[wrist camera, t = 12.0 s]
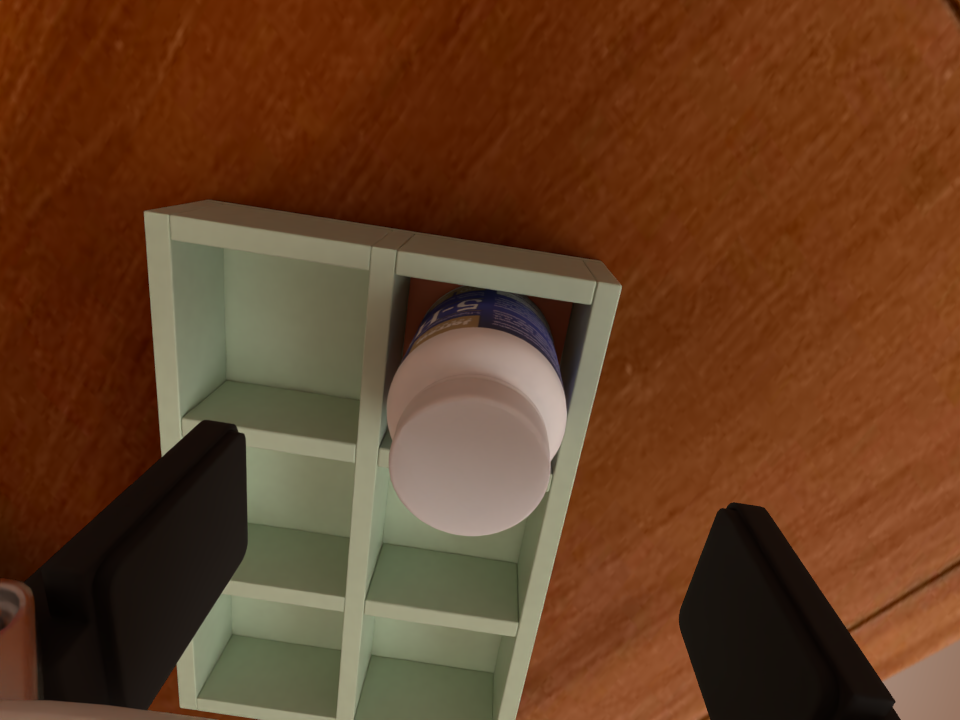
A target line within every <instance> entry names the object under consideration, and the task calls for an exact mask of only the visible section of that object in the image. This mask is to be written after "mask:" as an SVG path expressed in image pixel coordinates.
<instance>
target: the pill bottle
mask: <svg viewBox="0 0 960 720" xmlns="http://www.w3.org/2000/svg"><path fill="white" fill-rule="evenodd" d="M566 421H567V408H566V397H565V392H564V387H563V382H562V378H561V373H560V368H559V364H558V359H557V354H556V350H555V346H554V340H553V337H552V333H551V330H550V327H549V325H548V322H547V320H546V318H545V317H544V315H543V313H542V312H541V311H540V309H539V308H538V307H537V306H536V305H535V303H534V302H533V301H532V300H530V299H529V298H528V297H527V296H525V295H522V294H516V293H509V292H503V291H496V290H490V289H483V288H477V287H471V286H464V285H463V286H461V287H458V288H456V289H453V290H451V291H450V292H448V293H446V294H445V295H443V296H442V297H441V298H439V299H438V300H437V301H436V302H435V303H434V304H433V305H432V306H431V308H430V309H429V310H428V311H427V313H426V315H425V316H424V318H423V320H422V322H421V324H420V326H419V328H418V330H417V332H416V334H415V336H414V338H413V340H412V342H411V344H410V346H409V348H408V350H407V352H406V354H405V356H404V358H403V360H402V362H401V364H400V365H399V367H398V369H397V371H396V373H395V376H394V378H393V381H392V383H391V386H390V390H389V394H388V399H387V423H388V428H389V432H390V436H391V439H392V443H391V447H390V452H389V473H390V478H391V482H392V485H393V487H394V490H395V492H396V494H397V496H398V497H399V499H400V500H401V502H402V503H403V504H404V506H405V507H406V508H407V509H408V510H409V511H410V512H411V513H412V514H413V515H415V516H416V517H417V518H418V519H420V520H421V521H422V522H424V523H426V524H427V525H430V526H431V527H433V528H435V529H438V530H441V531H444V532H447V533H450V534H455V535H462V536H482V535H490V534H494V533H498V532H501V531H503V530H506V529H508V528H511V527H513V526H515V525H516V524H518V523H519V522H521V521H522V520H523V519H525V518H526V517H527V516H529V515H530V514H531V513H532V512H533V511H534V510H535V508H536V507H537V506H538V504H539V503H540V502H541V500H542V498H543V496H544V494H545V492H546V490H547V487H548V483H549V479H550V470H551V463H550V462H551V460H552V459H553V457H554V456H555V454H556V452H557V451H558V449H559V447H560V445H561V442H562V439H563V436H564V433H565V428H566Z"/></svg>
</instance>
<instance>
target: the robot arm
mask: <svg viewBox="0 0 960 720" xmlns="http://www.w3.org/2000/svg"><path fill="white" fill-rule="evenodd" d="M247 545H248V518H247V467H246V437H245V434H244V433H240V432H238V429H237V426H236V425H235V424H231V423H225V422H218V421H212V420H203V421H201V422H200V423H199V424H198V425H196V426H195V427H194V428H193V429H192V430H191V431H190V432H189V433H188V434H187V435H185V436H184V437H183V438H182V439H181V440H180V441H179V442H178V443H177V444H176V445H175V446H173V447H172V448H171V449H170V450H169V451H168V452H167V453H166V454H165V455H164V456H162V457H161V458H160V459H159V460H158V461H157V462H156V463H155V464H154V465H153V466H152V467H150V468H149V469H148V470H147V471H146V472H145V473H144V474H143V475H142V476H141V477H139V478H138V479H137V480H136V481H135V482H134V483H133V484H132V485H130V486H129V487H128V488H127V489H126V490H125V491H124V492H122V493H121V494H120V495H119V496H118V497H117V498H116V499H115V500H114V501H113V502H111V503H110V504H109V505H108V506H107V507H106V508H105V509H104V510H103V511H102V512H100V513H99V514H98V515H97V516H96V517H95V518H94V519H93V520H92V521H91V522H90V523H88V524H87V525H86V526H85V527H84V528H83V529H82V530H81V531H80V532H79V533H77V534H76V535H75V536H74V537H73V538H72V539H71V540H70V541H69V542H68V543H66V544H65V545H64V546H63V547H62V548H61V549H60V550H59V551H58V552H57V553H55V554H54V555H53V556H52V557H51V558H50V559H49V560H48V561H47V562H46V563H45V564H43V565H42V566H41V567H40V568H39V569H38V570H37V571H36V572H35V573H34V574H32V575H31V576H30V577H29V578H28V579H27V580H26V581H25V582H24V583H23V582H21V581H17V580H12V579H8V578H0V720H216V719H209V718H201V717H194V716H186V715H178V714H171V713H163V712H155V711H148V710H147V709H148V708H149V706H150V705H151V703H152V701H153V700H154V698H155V697H156V695H157V694H158V692H159V690H160V689H161V687H162V686H163V684H164V683H165V681H166V680H167V678H168V676H169V675H170V673H171V672H172V670H173V669H174V667H175V665H176V664H177V662H178V661H179V659H180V658H181V656H182V654H183V653H184V651H185V650H186V648H187V647H188V645H189V644H190V642H191V640H192V639H193V637H194V636H195V634H196V633H197V631H198V629H199V628H200V626H201V625H202V623H203V622H204V620H205V618H206V617H207V615H208V614H209V612H210V611H211V609H212V608H213V606H214V604H215V603H216V601H217V600H218V598H219V597H220V595H221V593H222V592H223V590H224V589H225V587H226V586H227V584H228V583H229V581H230V579H231V578H232V576H233V575H234V573H235V572H236V570H237V568H238V567H239V565H240V564H241V562H242V560H243V558H244V556H245V553H246V550H247ZM679 625H680V630H681V633H682V636H683V639H684V642H685V645H686V648H687V651H688V654H689V657H690V660H691V663H692V666H693V669H694V672H695V675H696V678H697V681H698V684H699V687H700V690H701V693H702V696H703V699H704V702H705V705H706V708H707V711H708V714H709V717H710V720H901V719H900V718H899V717H898V715H897V713H896V712H895V710H894V709H893V707H892V706H893V705H894V703H895V700H894V699H893V698H892V696H891V694H890V693H889V691H888V690H887V688H886V687H885V685H884V684H883V682H882V681H881V679H880V678H879V676H878V675H877V673H876V672H875V670H874V669H873V667H872V666H871V664H870V663H869V661H868V660H867V658H866V657H865V655H864V654H863V653H862V651H861V650H860V648H859V647H858V645H857V644H856V642H855V641H854V639H853V638H852V636H851V635H850V633H849V632H848V630H847V629H846V627H845V626H844V624H843V623H842V621H841V620H840V618H839V617H838V615H837V614H836V612H835V611H834V609H833V608H832V607H831V605H830V604H829V602H828V601H827V599H826V598H825V596H824V595H823V593H822V592H821V590H820V589H819V587H818V586H817V584H816V583H815V581H814V580H813V578H812V577H811V575H810V574H809V572H808V571H807V569H806V568H805V566H804V565H803V563H802V562H801V561H800V559H799V558H798V556H797V555H796V553H795V552H794V550H793V549H792V547H791V546H790V544H789V543H788V541H787V540H786V538H785V537H784V535H783V534H782V532H781V531H780V529H779V528H778V526H777V525H776V523H775V522H774V520H773V519H772V518H771V516H770V515H769V513H768V512H767V510H766V509H765V508H763V507H760V506H753V505H747V504H741V503H734V502H733V503H730V504H729V505H728V506H727V508H726V509H724V508H722V509H720V510H719V511H718V512H717V514H716V517H715V520H714V522H713V525H712V527H711V530H710V533H709V535H708V538H707V541H706V543H705V546H704V548H703V551H702V554H701V556H700V559H699V562H698V564H697V567H696V569H695V572H694V575H693V577H692V580H691V583H690V585H689V588H688V590H687V593H686V596H685V598H684V601H683V603H682V606H681V609H680V614H679Z"/></svg>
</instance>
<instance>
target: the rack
mask: <svg viewBox="0 0 960 720" xmlns="http://www.w3.org/2000/svg"><path fill="white" fill-rule="evenodd" d="M144 223H145V236H146V250H147V264H148V277H149V291H150V305H151V319H152V332H153V346H154V360H155V373H156V387H157V401H158V414H159V428H160V442H161V456H164V455H165V454H166V453H167V452H168V451H169V450H170V449H171V448H172V447H173V446H175V445H176V444H177V443H178V442H179V441H180V440H181V439H182V438H183V437H184V436H185V435H187V434H188V433H189V432H190V431H191V430H192V429H193V428H194V427H195V426H196V425H198V424H199V423H200V422H201V421H203V420H212V421H218V422H225V423H231V424H235V425H236V426H237V429H238V432H240V433H244V434H245V437H246V467H247V518H248V545H247V550H246V553H245V556H244V558H243V560H242V562H241V564H240V565H239V567H238V568H237V570H236V572H235V573H234V575H233V576H232V578H231V579H230V581H229V583H228V584H227V586H226V587H225V589H224V590H223V592H222V593H221V595H220V597H219V598H218V600H217V601H216V603H215V604H214V606H213V608H212V609H211V611H210V612H209V614H208V615H207V617H206V618H205V620H204V622H203V623H202V625H201V626H200V628H199V629H198V631H197V633H196V634H195V636H194V637H193V639H192V640H191V642H190V644H189V645H188V647H187V648H186V650H185V651H184V653H183V654H182V656H181V658H180V659H179V661H178V662H177V675H178V689H179V702H180V708H186V709H193V710H200V711H207V712H213V713H220V714H227V715H234V716H241V717H248V718H254V719H261V720H515V719H516V715H517V711H518V707H519V703H520V699H521V694H522V690H523V686H524V682H525V678H526V674H527V670H528V666H529V662H530V658H531V654H532V650H533V646H534V642H535V638H536V634H537V629H538V625H539V621H540V617H541V613H542V609H543V605H544V601H545V597H546V593H547V589H548V585H549V581H550V577H551V573H552V569H553V564H554V560H555V556H556V552H557V548H558V544H559V540H560V536H561V532H562V528H563V524H564V520H565V516H566V512H567V508H568V504H569V500H570V495H571V491H572V487H573V483H574V479H575V475H576V471H577V467H578V463H579V459H580V455H581V451H582V447H583V443H584V439H585V435H586V430H587V426H588V422H589V418H590V414H591V410H592V406H593V402H594V398H595V394H596V390H597V386H598V382H599V378H600V374H601V370H602V365H603V361H604V357H605V353H606V349H607V345H608V341H609V337H610V333H611V329H612V325H613V321H614V317H615V313H616V309H617V305H618V301H619V296H620V292H621V288H622V285H621V284H620V283H619V282H618V281H617V279H616V278H615V277H614V276H613V275H612V273H611V272H610V271H609V270H608V269H607V267H606V266H605V265H604V264H603V262H602V261H599V260H592V259H586V258H580V257H573V256H567V255H560V254H554V253H548V252H541V251H535V250H528V249H522V248H516V247H509V246H503V245H496V244H490V243H484V242H477V241H471V240H464V239H458V238H452V237H445V236H439V235H432V234H426V233H420V232H413V231H407V230H400V229H394V228H388V227H381V226H375V225H368V224H362V223H356V222H349V221H343V220H336V219H330V218H324V217H317V216H311V215H304V214H298V213H292V212H285V211H279V210H272V209H266V208H260V207H253V206H247V205H240V204H234V203H228V202H221V201H215V200H204V201H198V202H192V203H186V204H181V205H175V206H169V207H163V208H158V209H152V210H146V211H144ZM463 285H464V286H471V287H477V288H483V289H490V290H496V291H503V292H509V293H516V294H522V295H525V296H527V297H528V298H529V299H530V300H532V301H533V302H534V303H535V305H536V306H537V307H538V308H539V309H540V311H541V312H542V313H543V315H544V317H545V318H546V320H547V322H548V325H549V327H550V330H551V333H552V337H553V340H554V346H555V350H556V354H557V359H558V364H559V368H560V373H561V378H562V382H563V387H564V392H565V397H566V408H567V421H566V428H565V433H564V436H563V439H562V442H561V445H560V447H559V449H558V451H557V452H556V454H555V456H554V457H553V459H552V460H551V462H550V463H551V470H550V479H549V483H548V487H547V490H546V492H545V494H544V496H543V498H542V500H541V502H540V503H539V504H538V506H537V507H536V508H535V510H534V511H533V512H532V513H531V514H530V515H529V516H527V517H526V518H525V519H523V520H522V521H521V522H519V523H518V524H516V525H515V526H513V527H511V528H508V529H506V530H503V531H501V532H498V533H494V534H490V535H482V536H462V535H455V534H450V533H447V532H444V531H441V530H438V529H435V528H433V527H431V526H430V525H427V524H426V523H424V522H422V521H421V520H420V519H418V518H417V517H416V516H415V515H413V514H412V513H411V512H410V511H409V510H408V509H407V508H406V507H405V506H404V504H403V503H402V502H401V500H400V499H399V497H398V496H397V494H396V492H395V490H394V487H393V485H392V482H391V478H390V473H389V452H390V447H391V443H392V439H391V436H390V432H389V428H388V423H387V399H388V394H389V390H390V386H391V383H392V381H393V378H394V376H395V373H396V371H397V369H398V367H399V365H400V364H401V362H402V360H403V358H404V356H405V354H406V352H407V350H408V348H409V346H410V344H411V342H412V340H413V338H414V336H415V334H416V332H417V330H418V328H419V326H420V324H421V322H422V320H423V318H424V316H425V315H426V313H427V311H428V310H429V309H430V308H431V306H432V305H433V304H434V303H435V302H436V301H437V300H438V299H439V298H441V297H442V296H443V295H445V294H446V293H448V292H450V291H451V290H453V289H456V288H458V287H461V286H463Z"/></svg>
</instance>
